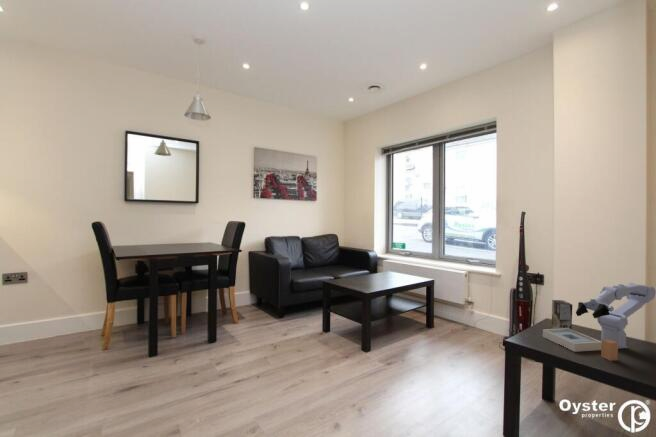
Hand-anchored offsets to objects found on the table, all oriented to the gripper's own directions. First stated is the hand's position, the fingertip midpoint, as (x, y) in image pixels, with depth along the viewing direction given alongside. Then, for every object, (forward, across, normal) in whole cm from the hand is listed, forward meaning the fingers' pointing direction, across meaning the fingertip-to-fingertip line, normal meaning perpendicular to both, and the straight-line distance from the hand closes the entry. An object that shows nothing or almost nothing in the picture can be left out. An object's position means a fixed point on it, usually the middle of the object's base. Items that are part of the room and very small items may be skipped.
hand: (585, 315), depth 150 cm
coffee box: (-10, -27, +19) cm, 35 cm away
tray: (+3, -12, +16) cm, 20 cm away
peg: (+5, +5, +19) cm, 20 cm away
